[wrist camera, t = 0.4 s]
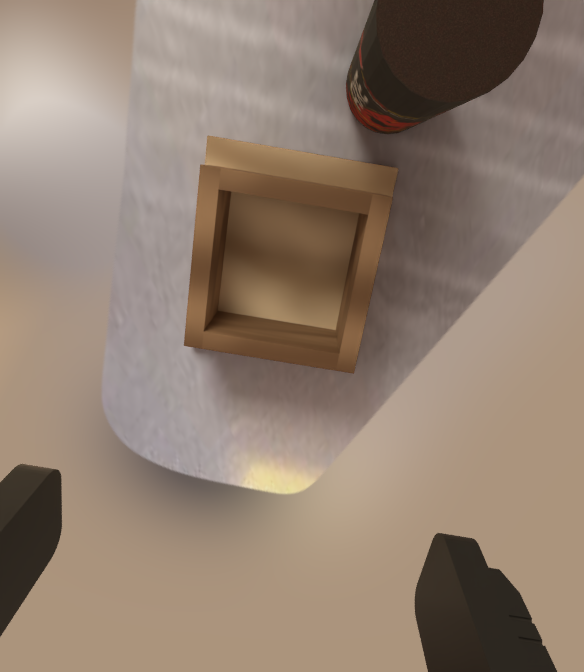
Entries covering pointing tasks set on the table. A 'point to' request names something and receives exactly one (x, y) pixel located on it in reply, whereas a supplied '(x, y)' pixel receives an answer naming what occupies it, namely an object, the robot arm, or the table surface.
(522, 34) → the deodorant
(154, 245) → the table surface
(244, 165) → the holder
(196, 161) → the table surface
